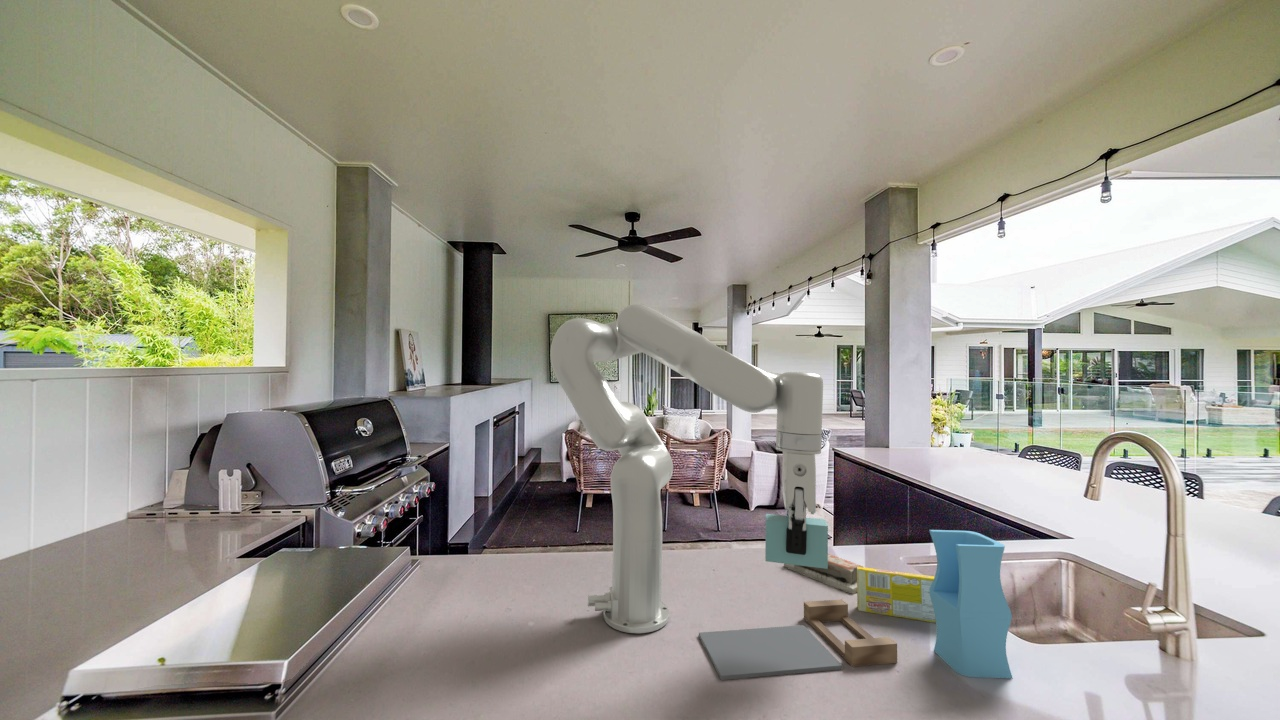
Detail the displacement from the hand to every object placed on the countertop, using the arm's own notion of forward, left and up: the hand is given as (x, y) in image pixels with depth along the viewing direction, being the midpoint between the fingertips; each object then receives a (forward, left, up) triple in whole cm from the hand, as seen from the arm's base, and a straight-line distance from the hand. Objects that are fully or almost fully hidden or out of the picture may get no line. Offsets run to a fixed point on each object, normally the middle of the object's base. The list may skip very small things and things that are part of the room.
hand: (794, 547), depth 79 cm
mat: (-6, -1, -17) cm, 18 cm away
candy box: (+26, +7, -17) cm, 32 cm away
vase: (+26, -8, -17) cm, 32 cm away
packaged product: (+22, +27, -17) cm, 39 cm away
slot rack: (+10, +1, -17) cm, 20 cm away
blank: (0, 0, -2) cm, 2 cm away
